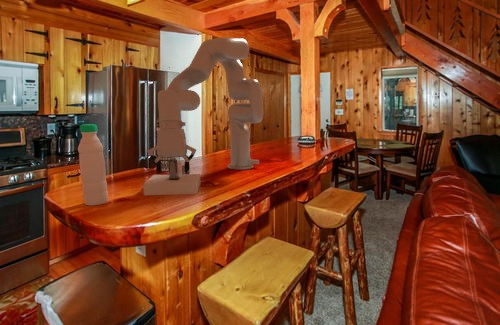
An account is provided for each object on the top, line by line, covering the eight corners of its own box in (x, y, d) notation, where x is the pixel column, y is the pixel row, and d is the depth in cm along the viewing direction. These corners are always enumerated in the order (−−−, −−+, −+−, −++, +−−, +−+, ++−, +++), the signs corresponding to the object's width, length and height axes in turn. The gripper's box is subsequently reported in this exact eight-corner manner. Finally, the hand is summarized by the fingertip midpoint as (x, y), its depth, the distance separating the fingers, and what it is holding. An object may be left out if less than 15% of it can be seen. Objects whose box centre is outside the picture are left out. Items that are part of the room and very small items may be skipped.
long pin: (179, 188, 113) (177, 159, 111) (177, 190, 110) (176, 160, 108) (170, 188, 113) (169, 159, 111) (169, 190, 110) (167, 160, 108)
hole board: (200, 183, 119) (199, 174, 118) (196, 194, 105) (196, 182, 105) (154, 185, 118) (153, 175, 117) (144, 195, 104) (143, 184, 103)
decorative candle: (180, 167, 151) (177, 117, 146) (171, 171, 142) (168, 118, 137) (163, 167, 153) (160, 117, 148) (154, 170, 144) (150, 118, 139)
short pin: (190, 177, 130) (189, 165, 129) (189, 179, 127) (188, 166, 126) (182, 177, 130) (182, 165, 129) (181, 179, 127) (181, 166, 126)
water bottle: (83, 207, 92) (73, 125, 87) (85, 201, 98) (76, 124, 94) (108, 204, 95) (100, 124, 90) (108, 198, 101) (101, 123, 96)
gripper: (196, 124, 111) (198, 169, 115) (148, 125, 110) (151, 170, 114) (193, 126, 104) (196, 174, 107) (142, 126, 103) (146, 175, 106)
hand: (173, 172), depth 110 cm, fingers open, 9 cm apart
